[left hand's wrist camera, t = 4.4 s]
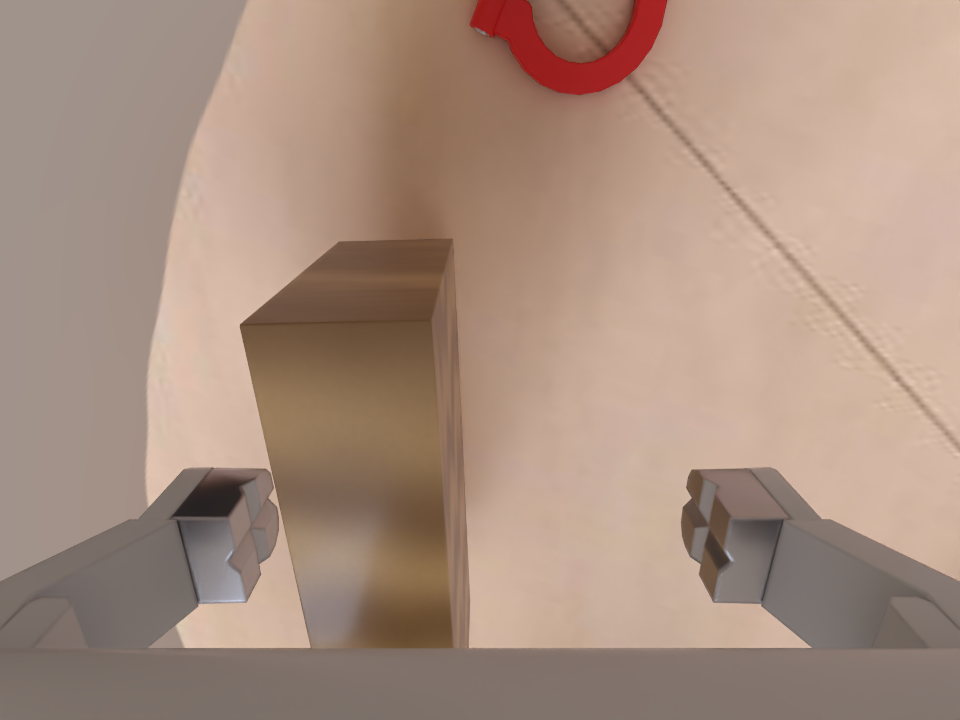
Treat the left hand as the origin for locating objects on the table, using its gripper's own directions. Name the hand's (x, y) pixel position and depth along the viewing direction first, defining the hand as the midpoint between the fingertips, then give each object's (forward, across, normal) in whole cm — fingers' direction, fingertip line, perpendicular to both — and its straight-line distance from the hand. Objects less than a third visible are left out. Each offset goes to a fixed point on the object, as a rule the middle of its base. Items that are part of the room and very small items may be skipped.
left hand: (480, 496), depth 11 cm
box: (+21, +4, +12) cm, 24 cm away
